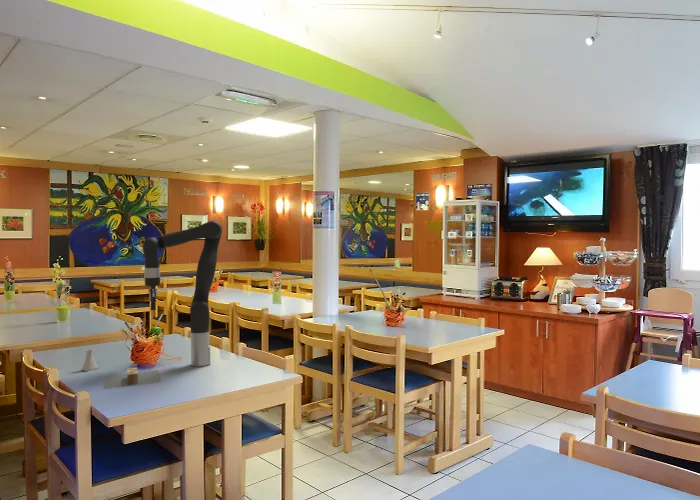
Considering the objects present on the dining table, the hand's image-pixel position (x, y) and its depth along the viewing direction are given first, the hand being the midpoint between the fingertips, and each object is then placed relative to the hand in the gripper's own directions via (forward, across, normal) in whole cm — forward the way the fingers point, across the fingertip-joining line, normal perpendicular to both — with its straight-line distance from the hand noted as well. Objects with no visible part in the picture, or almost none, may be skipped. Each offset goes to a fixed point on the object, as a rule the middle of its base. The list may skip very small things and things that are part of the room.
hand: (153, 309), depth 264 cm
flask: (+29, +6, +30) cm, 42 cm away
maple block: (+26, -19, +11) cm, 35 cm away
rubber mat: (+29, -22, +11) cm, 38 cm away
